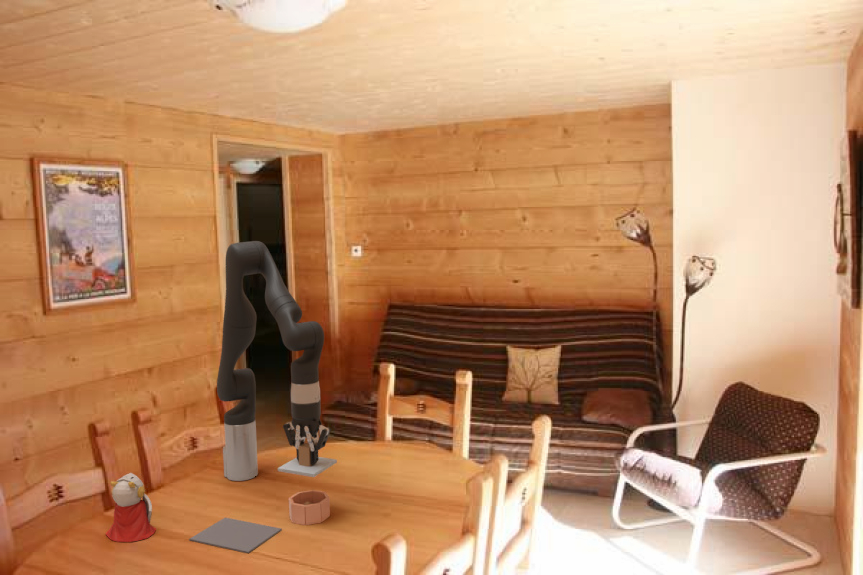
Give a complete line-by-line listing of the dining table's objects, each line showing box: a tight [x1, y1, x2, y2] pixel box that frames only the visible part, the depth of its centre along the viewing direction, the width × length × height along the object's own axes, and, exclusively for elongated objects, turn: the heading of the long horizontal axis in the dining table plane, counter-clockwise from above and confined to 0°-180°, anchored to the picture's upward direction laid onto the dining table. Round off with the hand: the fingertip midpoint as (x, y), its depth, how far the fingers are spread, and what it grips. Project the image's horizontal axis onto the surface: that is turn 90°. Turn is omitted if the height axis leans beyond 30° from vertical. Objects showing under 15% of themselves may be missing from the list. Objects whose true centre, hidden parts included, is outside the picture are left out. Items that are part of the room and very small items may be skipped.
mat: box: [188, 517, 283, 554], centre depth 168 cm, size 18×13×1 cm
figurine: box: [105, 472, 157, 543], centre depth 171 cm, size 13×12×15 cm
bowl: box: [288, 489, 331, 526], centre depth 178 cm, size 10×10×5 cm
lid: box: [277, 442, 338, 478], centre depth 177 cm, size 11×11×6 cm
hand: (307, 462), depth 177 cm, fingers closed on lid, 3 cm apart
